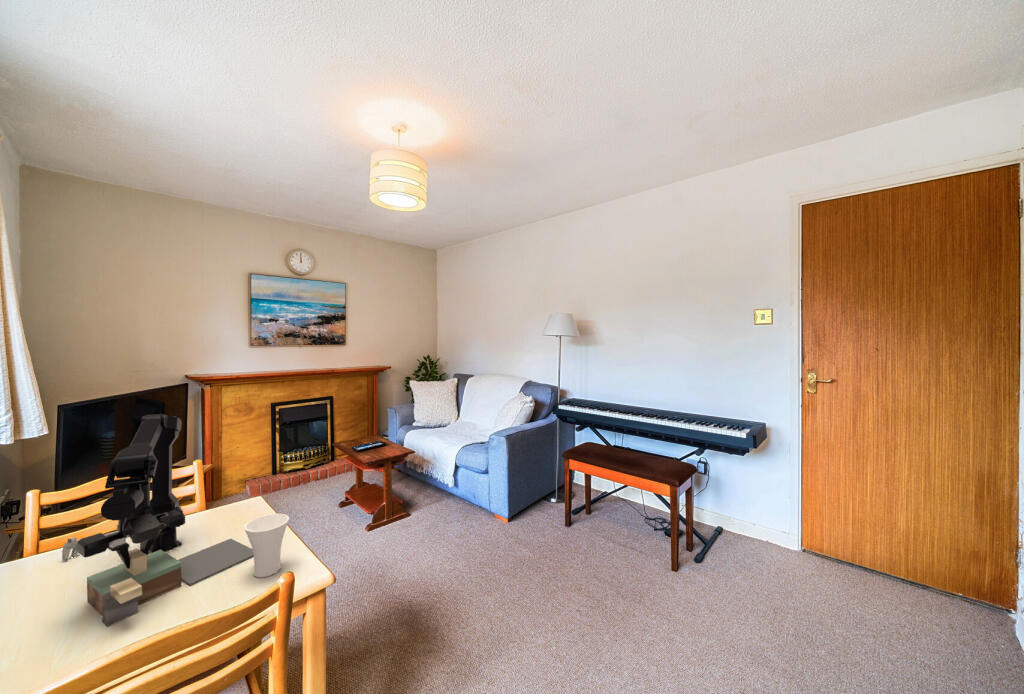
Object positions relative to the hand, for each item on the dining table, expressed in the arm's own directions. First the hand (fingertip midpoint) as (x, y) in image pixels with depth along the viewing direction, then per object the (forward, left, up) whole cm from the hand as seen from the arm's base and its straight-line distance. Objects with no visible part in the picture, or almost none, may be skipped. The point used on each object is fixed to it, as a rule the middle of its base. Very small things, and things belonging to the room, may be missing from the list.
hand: (135, 565), depth 97 cm
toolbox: (+2, 0, -7) cm, 7 cm away
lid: (0, 0, -2) cm, 2 cm away
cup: (+18, +22, -8) cm, 29 cm away
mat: (0, +17, -7) cm, 18 cm away
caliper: (-39, +5, -8) cm, 40 cm away
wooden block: (+11, -5, -1) cm, 12 cm away
